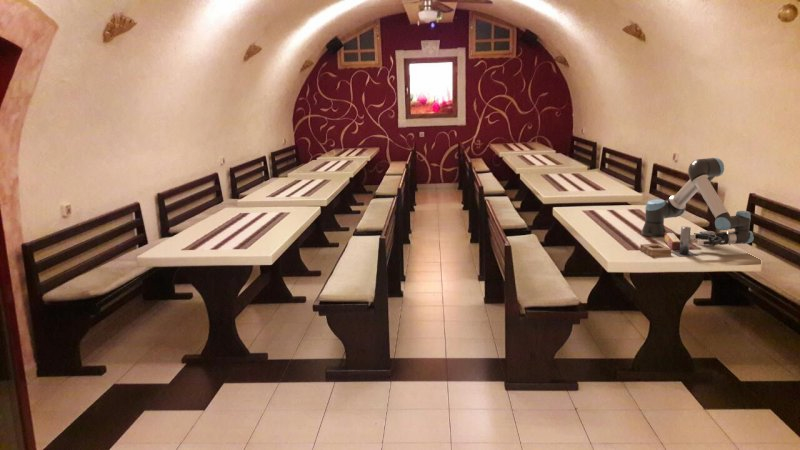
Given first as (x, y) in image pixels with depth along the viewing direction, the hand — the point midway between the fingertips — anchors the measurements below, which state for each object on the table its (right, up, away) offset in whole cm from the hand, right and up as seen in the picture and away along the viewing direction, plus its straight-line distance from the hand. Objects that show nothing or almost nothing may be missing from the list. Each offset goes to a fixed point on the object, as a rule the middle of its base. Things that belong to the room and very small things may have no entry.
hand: (690, 239), depth 341 cm
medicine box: (+20, -4, +20) cm, 29 cm away
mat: (-3, -9, +2) cm, 10 cm away
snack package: (-1, -5, +20) cm, 21 cm away
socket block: (-18, -8, +6) cm, 21 cm away
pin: (-3, -8, +2) cm, 9 cm away
